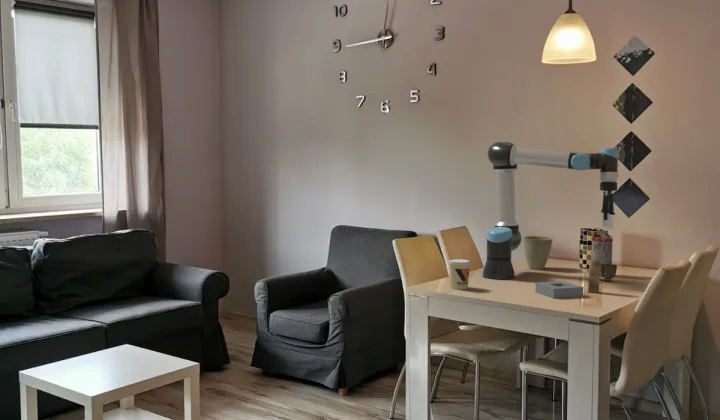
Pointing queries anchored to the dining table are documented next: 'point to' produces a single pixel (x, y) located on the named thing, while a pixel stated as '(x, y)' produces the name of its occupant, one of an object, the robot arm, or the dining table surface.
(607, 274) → the cup
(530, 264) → the plant pot
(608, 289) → the dining table surface
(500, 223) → the robot arm
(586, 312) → the dining table surface
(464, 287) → the coffee cup
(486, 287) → the dining table surface
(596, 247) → the juice carton
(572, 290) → the socket block
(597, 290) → the walnut peg
